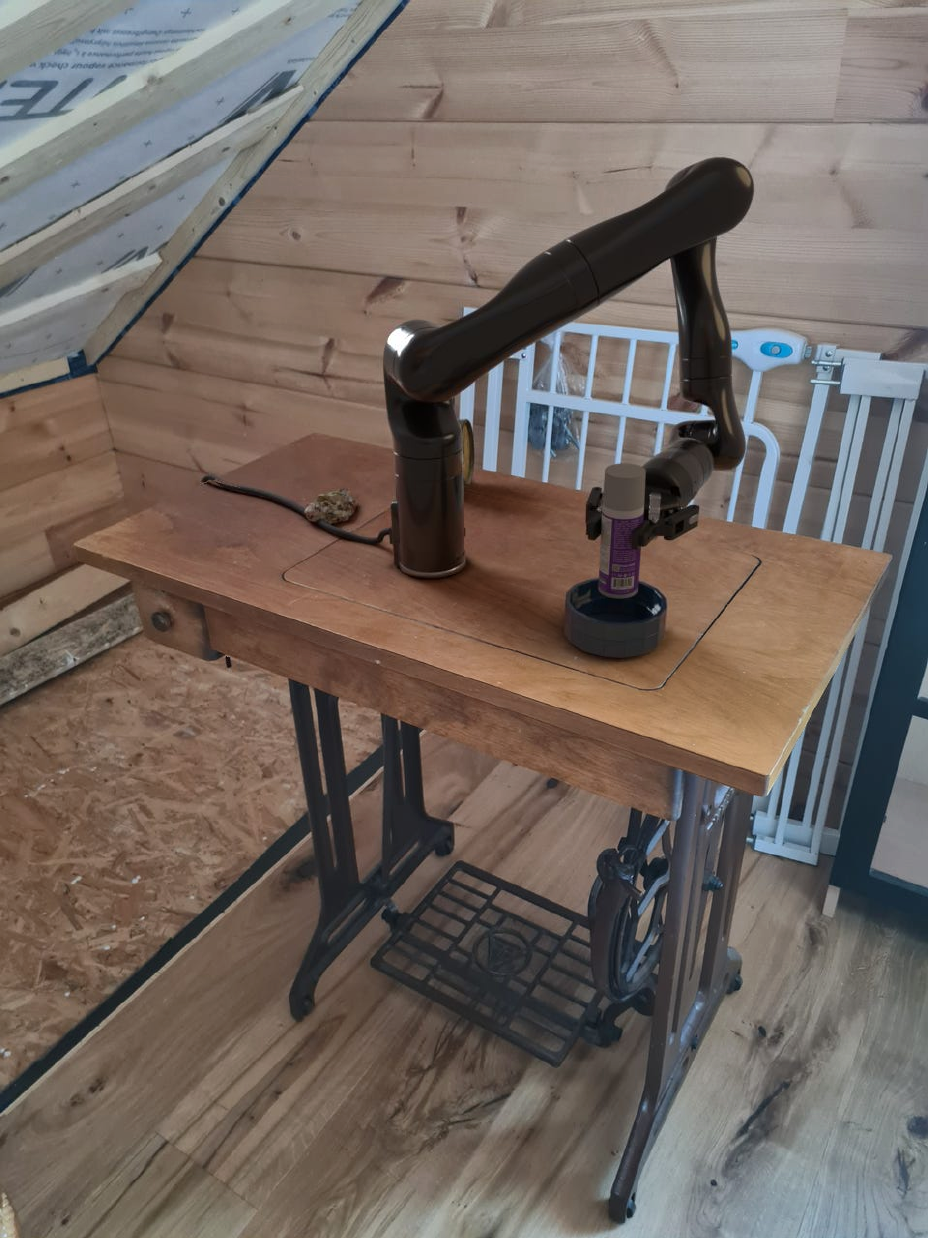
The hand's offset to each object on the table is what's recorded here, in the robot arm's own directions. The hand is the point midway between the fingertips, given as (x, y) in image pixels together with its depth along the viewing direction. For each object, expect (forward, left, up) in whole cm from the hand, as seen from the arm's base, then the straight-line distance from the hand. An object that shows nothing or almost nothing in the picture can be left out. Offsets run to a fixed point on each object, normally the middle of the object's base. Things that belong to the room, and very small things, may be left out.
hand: (613, 536), depth 103 cm
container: (0, +3, -8) cm, 9 cm away
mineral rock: (-54, +17, -14) cm, 58 cm away
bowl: (0, +3, -14) cm, 14 cm away
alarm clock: (-42, +35, -14) cm, 56 cm away
